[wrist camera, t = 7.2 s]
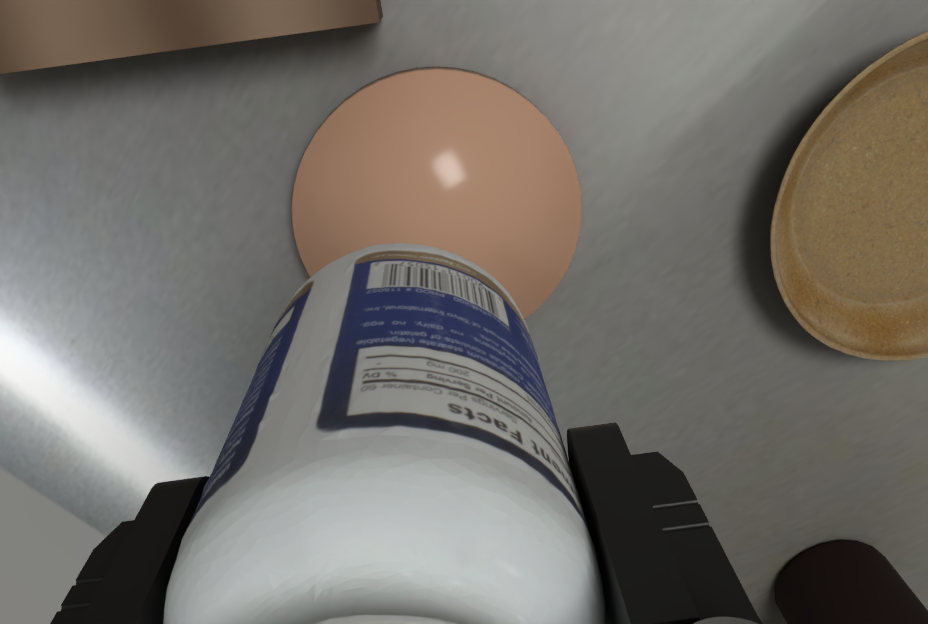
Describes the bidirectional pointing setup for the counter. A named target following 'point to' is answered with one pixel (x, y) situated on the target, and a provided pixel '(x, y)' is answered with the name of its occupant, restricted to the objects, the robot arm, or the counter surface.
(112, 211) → the counter surface
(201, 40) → the block
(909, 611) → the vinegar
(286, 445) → the pill bottle
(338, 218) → the salmon pink disc
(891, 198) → the plant saucer
